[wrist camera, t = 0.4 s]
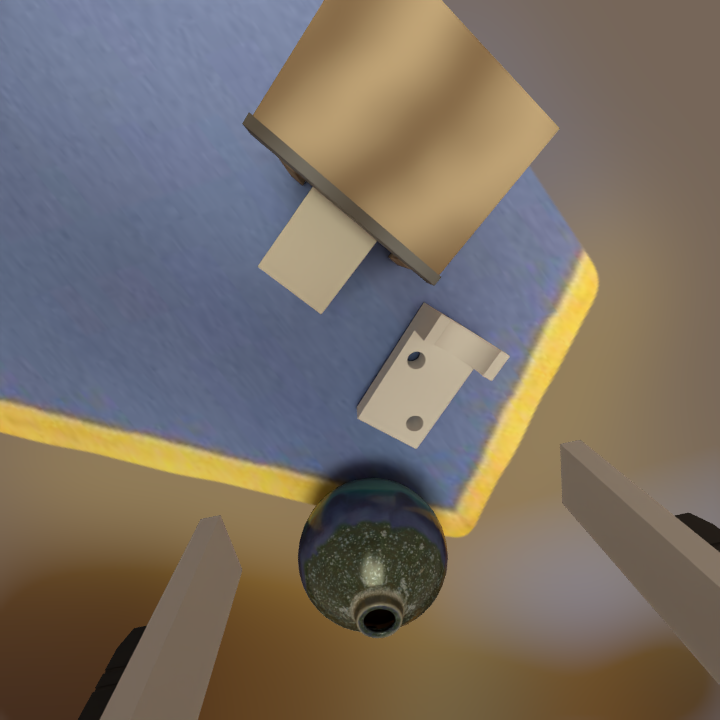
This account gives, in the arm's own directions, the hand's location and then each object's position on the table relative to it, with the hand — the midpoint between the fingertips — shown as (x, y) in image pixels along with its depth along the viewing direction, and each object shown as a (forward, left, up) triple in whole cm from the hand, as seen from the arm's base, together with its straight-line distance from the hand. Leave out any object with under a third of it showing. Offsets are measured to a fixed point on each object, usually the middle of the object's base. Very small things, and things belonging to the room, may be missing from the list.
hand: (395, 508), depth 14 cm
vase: (+14, -16, -25) cm, 32 cm away
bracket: (+6, +1, -25) cm, 26 cm away
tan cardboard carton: (-8, +7, -25) cm, 27 cm away
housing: (-8, +13, -25) cm, 29 cm away
